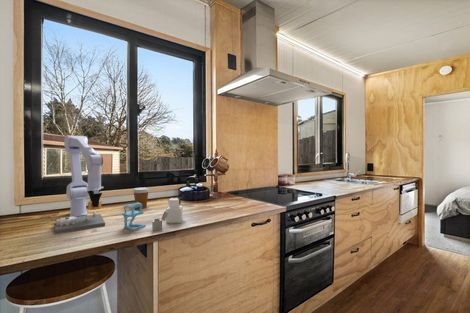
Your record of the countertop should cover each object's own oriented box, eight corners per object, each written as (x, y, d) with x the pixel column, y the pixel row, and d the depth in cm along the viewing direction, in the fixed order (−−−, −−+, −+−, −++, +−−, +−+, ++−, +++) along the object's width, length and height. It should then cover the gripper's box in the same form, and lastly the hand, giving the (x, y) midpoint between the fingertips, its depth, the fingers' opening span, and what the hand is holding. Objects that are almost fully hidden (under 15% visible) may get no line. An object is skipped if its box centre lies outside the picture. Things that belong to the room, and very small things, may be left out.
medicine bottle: (168, 218, 125) (168, 196, 125) (182, 218, 126) (182, 196, 126) (166, 223, 118) (166, 199, 118) (180, 223, 119) (180, 199, 119)
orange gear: (87, 208, 119) (87, 201, 119) (100, 206, 122) (100, 199, 122) (88, 210, 114) (88, 203, 114) (102, 208, 118) (102, 201, 118)
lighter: (153, 230, 107) (153, 213, 107) (152, 229, 109) (152, 212, 108) (168, 228, 111) (168, 211, 111) (167, 227, 113) (167, 210, 112)
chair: (133, 224, 117) (133, 200, 116) (145, 226, 113) (145, 201, 113) (119, 228, 110) (119, 203, 109) (132, 231, 106) (132, 205, 106)
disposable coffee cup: (140, 210, 142) (140, 190, 142) (129, 208, 147) (129, 189, 146) (152, 206, 151) (152, 188, 151) (141, 204, 155) (141, 186, 155)
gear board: (56, 222, 117) (56, 214, 116) (100, 216, 128) (100, 208, 128) (55, 233, 102) (55, 223, 102) (105, 225, 113) (105, 216, 113)
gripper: (105, 179, 114) (105, 207, 115) (101, 176, 126) (101, 201, 126) (88, 180, 110) (88, 209, 111) (86, 177, 122) (86, 203, 122)
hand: (94, 205), depth 118 cm, fingers closed on orange gear, 6 cm apart
